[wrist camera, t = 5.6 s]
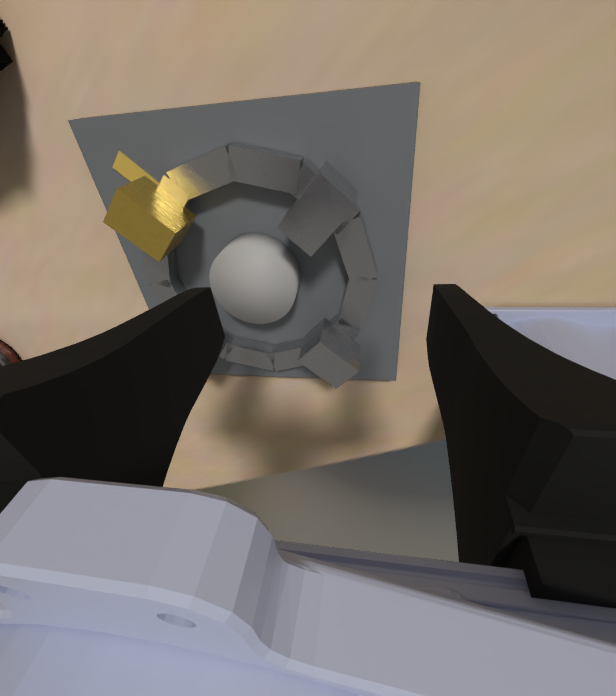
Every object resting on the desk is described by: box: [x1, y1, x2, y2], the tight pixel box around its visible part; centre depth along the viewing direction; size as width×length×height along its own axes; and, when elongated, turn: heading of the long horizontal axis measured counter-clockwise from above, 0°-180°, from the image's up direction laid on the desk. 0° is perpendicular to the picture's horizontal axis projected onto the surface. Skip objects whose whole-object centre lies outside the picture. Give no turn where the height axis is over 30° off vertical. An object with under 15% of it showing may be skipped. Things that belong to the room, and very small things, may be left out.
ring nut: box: [103, 142, 377, 388], centre depth 20 cm, size 15×15×4 cm
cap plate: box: [68, 82, 420, 381], centre depth 21 cm, size 17×17×3 cm
